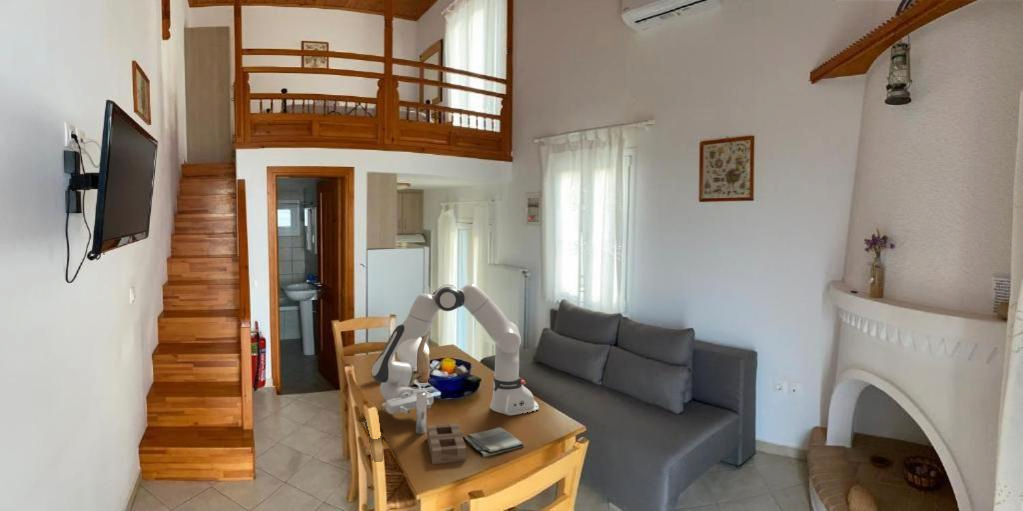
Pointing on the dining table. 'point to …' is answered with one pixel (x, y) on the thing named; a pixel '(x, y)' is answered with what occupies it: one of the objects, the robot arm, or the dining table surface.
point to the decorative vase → (410, 351)
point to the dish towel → (493, 441)
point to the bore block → (446, 443)
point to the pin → (421, 412)
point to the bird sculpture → (423, 362)
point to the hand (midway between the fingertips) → (418, 408)
